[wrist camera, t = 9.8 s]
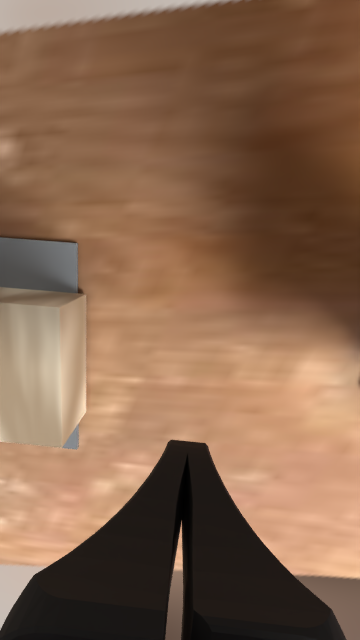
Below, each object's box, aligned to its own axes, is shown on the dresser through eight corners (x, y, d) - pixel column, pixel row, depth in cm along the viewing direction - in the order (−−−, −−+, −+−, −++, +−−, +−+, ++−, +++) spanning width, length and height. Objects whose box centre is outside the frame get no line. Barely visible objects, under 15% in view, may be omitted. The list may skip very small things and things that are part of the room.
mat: (77, 243, 20) (75, 243, 20) (78, 446, 24) (77, 449, 23) (-83, 231, 20) (-87, 230, 20) (-59, 432, 24) (-62, 435, 24)
